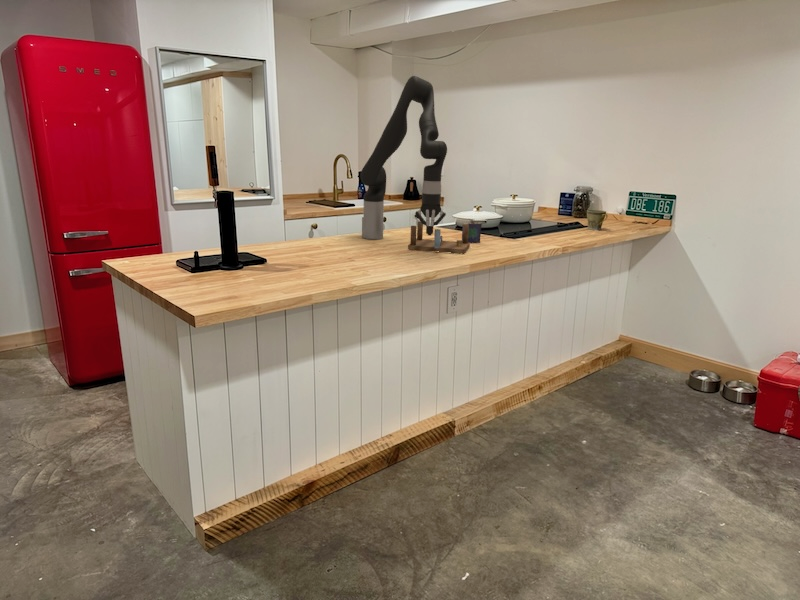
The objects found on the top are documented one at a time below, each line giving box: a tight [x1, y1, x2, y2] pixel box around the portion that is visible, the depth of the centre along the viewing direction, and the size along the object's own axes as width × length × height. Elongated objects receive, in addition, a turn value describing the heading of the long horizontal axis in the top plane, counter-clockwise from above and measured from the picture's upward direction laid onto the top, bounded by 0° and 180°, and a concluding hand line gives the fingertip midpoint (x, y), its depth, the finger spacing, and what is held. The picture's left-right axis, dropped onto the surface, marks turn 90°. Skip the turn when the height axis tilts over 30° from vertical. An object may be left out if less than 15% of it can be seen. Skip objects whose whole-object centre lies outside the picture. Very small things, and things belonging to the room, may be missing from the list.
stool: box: [407, 220, 471, 255], centre depth 241 cm, size 24×16×10 cm, turn 75°
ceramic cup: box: [586, 209, 608, 231], centre depth 300 cm, size 13×10×10 cm
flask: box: [461, 218, 482, 244], centre depth 256 cm, size 9×3×11 cm, turn 109°
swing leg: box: [433, 228, 443, 248], centre depth 238 cm, size 18×3×8 cm, turn 173°
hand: (429, 235), depth 230 cm, fingers closed
